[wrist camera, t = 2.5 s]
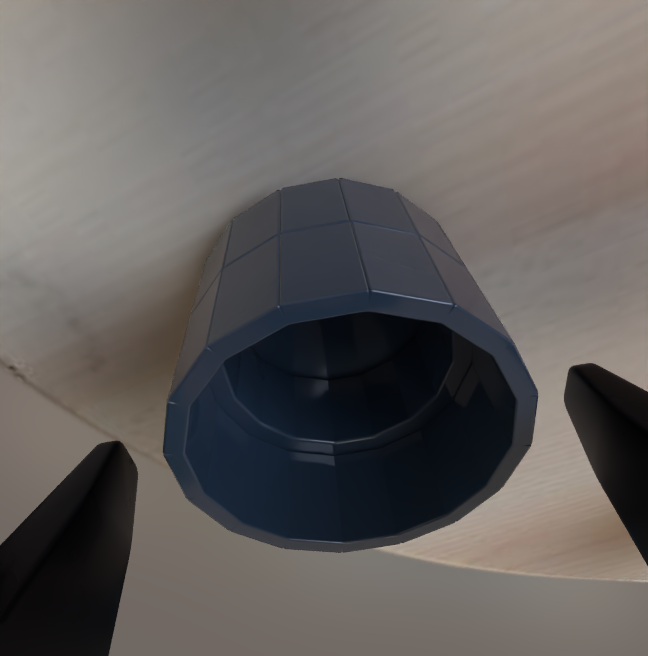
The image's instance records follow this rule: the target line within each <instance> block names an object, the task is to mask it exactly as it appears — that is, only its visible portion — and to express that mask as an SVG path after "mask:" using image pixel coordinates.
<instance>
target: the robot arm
mask: <svg viewBox="0 0 648 656" xmlns="http://www.w3.org/2000/svg"><path fill="white" fill-rule="evenodd" d="M564 402H565V406H566V409H567V411H568V414H569V416H570V418H571V421H572V423H573V425H574V427H575V430H576V432H577V434H578V437H579V439H580V441H581V443H582V446H583V448H584V450H585V453H586V455H587V457H588V459H589V462H590V464H591V466H592V468H593V470H594V473H595V475H596V477H597V479H598V480H599V482H600V484H601V486H602V488H603V489H604V491H605V493H606V495H607V496H608V498H609V500H610V502H611V503H612V505H613V507H614V508H615V510H616V512H617V514H618V515H619V517H620V519H621V521H622V522H623V524H624V526H625V527H626V529H627V531H628V533H629V534H630V536H631V538H632V540H633V541H634V543H635V545H636V546H637V548H638V550H639V552H640V553H641V555H642V557H643V559H644V560H645V562H646V564H647V565H648V392H647V391H645V390H643V389H642V388H640V387H638V386H636V385H634V384H632V383H630V382H628V381H626V380H625V379H623V378H621V377H619V376H617V375H615V374H613V373H611V372H609V371H608V370H606V369H604V368H602V367H600V366H598V365H596V364H593V363H586V364H580V365H574V366H572V367H571V368H570V369H569V371H568V376H567V382H566V388H565V393H564ZM137 480H138V471H137V467H136V465H135V463H134V462H133V460H132V458H131V456H130V454H129V453H128V451H127V449H126V448H125V446H124V444H123V443H122V442H120V441H111V442H105V443H101V444H99V445H97V446H96V447H95V448H94V449H93V450H92V451H91V452H90V453H89V454H88V455H87V456H86V457H85V458H84V459H83V460H82V461H81V463H80V464H79V465H78V466H77V467H76V468H75V469H74V470H73V471H72V472H71V473H70V474H69V475H68V476H67V477H66V478H65V479H64V480H63V481H62V482H61V483H60V484H59V485H58V486H57V487H56V488H55V489H54V490H53V491H52V492H51V493H50V495H48V497H47V498H46V499H45V500H44V501H43V502H42V503H41V504H40V505H39V506H38V507H37V508H36V509H35V510H34V511H33V512H32V513H31V514H30V515H29V516H28V517H27V518H26V519H25V520H24V521H23V522H22V523H21V524H20V526H18V528H17V529H16V530H15V531H14V532H13V533H12V534H11V535H10V536H9V537H8V538H7V539H6V540H5V541H4V542H3V543H2V544H1V545H0V656H108V655H109V650H110V645H111V640H112V636H113V631H114V627H115V622H116V617H117V612H118V608H119V603H120V598H121V593H122V589H123V583H124V579H125V574H126V570H127V565H128V560H129V555H130V549H131V542H132V533H133V523H134V512H135V501H136V492H137V482H138V481H137Z"/></svg>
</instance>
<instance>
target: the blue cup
mask: <svg viewBox="0 0 648 656" xmlns="http://www.w3.org/2000/svg"><path fill="white" fill-rule="evenodd" d="M537 401H538V390H537V388H536V386H535V384H534V382H533V380H532V378H531V376H530V374H529V372H528V370H527V368H526V366H525V364H524V362H523V360H522V358H521V356H520V354H519V352H518V349H517V347H516V345H515V343H514V342H513V340H512V339H511V337H510V335H509V334H508V332H507V331H506V329H505V328H504V326H503V324H502V323H501V321H500V320H499V318H498V317H497V315H496V313H495V312H494V310H493V309H492V307H491V305H490V304H489V302H488V301H487V299H486V298H485V296H484V294H483V293H482V291H481V290H480V288H479V286H478V285H477V283H476V282H475V280H474V279H473V277H472V275H471V274H470V272H469V271H468V269H467V268H466V266H465V264H464V263H463V261H462V260H461V258H460V256H459V255H458V253H457V252H456V250H455V249H454V247H453V245H452V244H451V242H450V241H449V239H448V237H447V236H446V234H445V233H444V231H443V230H442V228H441V226H440V225H439V223H438V222H437V221H436V220H435V219H434V218H432V217H431V216H430V215H428V214H427V213H426V212H424V211H423V210H422V209H420V208H419V207H417V206H416V205H415V204H413V203H412V202H411V201H409V200H408V199H407V198H405V197H404V196H402V195H401V194H400V193H398V192H395V191H394V190H393V189H389V188H385V187H380V186H375V185H371V184H366V183H361V182H357V181H352V180H348V179H343V178H339V179H336V178H335V179H330V180H324V181H319V182H313V183H308V184H302V185H297V186H291V187H286V188H282V189H281V190H277V191H275V192H274V193H272V194H271V195H269V196H268V197H266V198H264V199H263V200H261V201H260V202H258V203H257V204H255V205H254V206H252V207H251V208H249V209H247V210H246V211H244V212H243V213H241V214H240V215H238V216H237V217H235V218H234V220H232V221H231V222H230V224H229V225H228V227H227V228H226V230H225V231H224V233H223V234H222V236H221V238H220V239H219V241H218V242H217V244H216V245H215V247H214V248H213V250H212V251H211V253H210V255H209V256H208V258H207V259H206V262H205V264H204V268H203V272H202V275H201V279H200V283H199V286H198V290H197V294H196V297H195V301H194V305H193V308H192V312H191V315H190V320H189V322H188V326H187V330H186V333H185V337H184V341H183V344H182V348H181V351H180V355H179V359H178V362H177V366H176V370H175V373H174V377H173V381H172V384H171V388H170V392H169V395H168V399H167V405H166V418H165V431H164V444H163V453H164V457H165V459H166V461H167V463H168V465H169V467H170V469H171V470H172V472H173V474H174V476H175V478H176V480H177V482H178V484H179V485H180V487H181V489H182V491H183V493H184V495H185V497H186V498H187V499H188V500H189V501H190V502H191V503H193V504H194V505H195V506H196V507H198V508H199V509H201V510H202V511H204V512H205V513H206V514H207V515H209V516H210V517H211V518H213V519H214V520H215V521H217V522H218V523H219V524H221V525H222V526H224V527H225V528H226V529H227V530H230V531H232V532H234V533H237V534H240V535H243V536H246V537H249V538H252V539H255V540H258V541H261V542H265V543H267V544H270V545H274V546H277V547H280V548H285V549H294V550H309V551H323V552H338V553H341V552H350V551H357V550H364V549H370V548H377V547H383V546H390V545H396V544H400V543H404V542H407V541H409V540H412V539H415V538H417V537H420V536H422V535H425V534H427V533H430V532H432V531H435V530H437V529H440V528H442V527H445V526H448V525H450V524H453V523H455V521H458V520H460V519H461V518H462V517H464V516H465V515H467V514H468V513H469V512H471V511H472V510H473V509H475V508H476V507H477V506H479V505H480V504H482V503H483V502H484V501H486V500H487V499H488V498H490V497H491V496H492V495H494V494H495V493H497V492H498V491H499V490H500V489H501V488H502V487H503V486H504V485H505V483H506V482H507V480H508V479H509V477H510V476H511V474H512V473H513V472H514V470H515V469H516V467H517V466H518V464H519V463H520V461H521V460H522V458H523V457H524V455H525V454H526V453H527V451H528V450H529V448H530V447H531V444H532V440H533V432H534V424H535V417H536V409H537Z"/></svg>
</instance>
